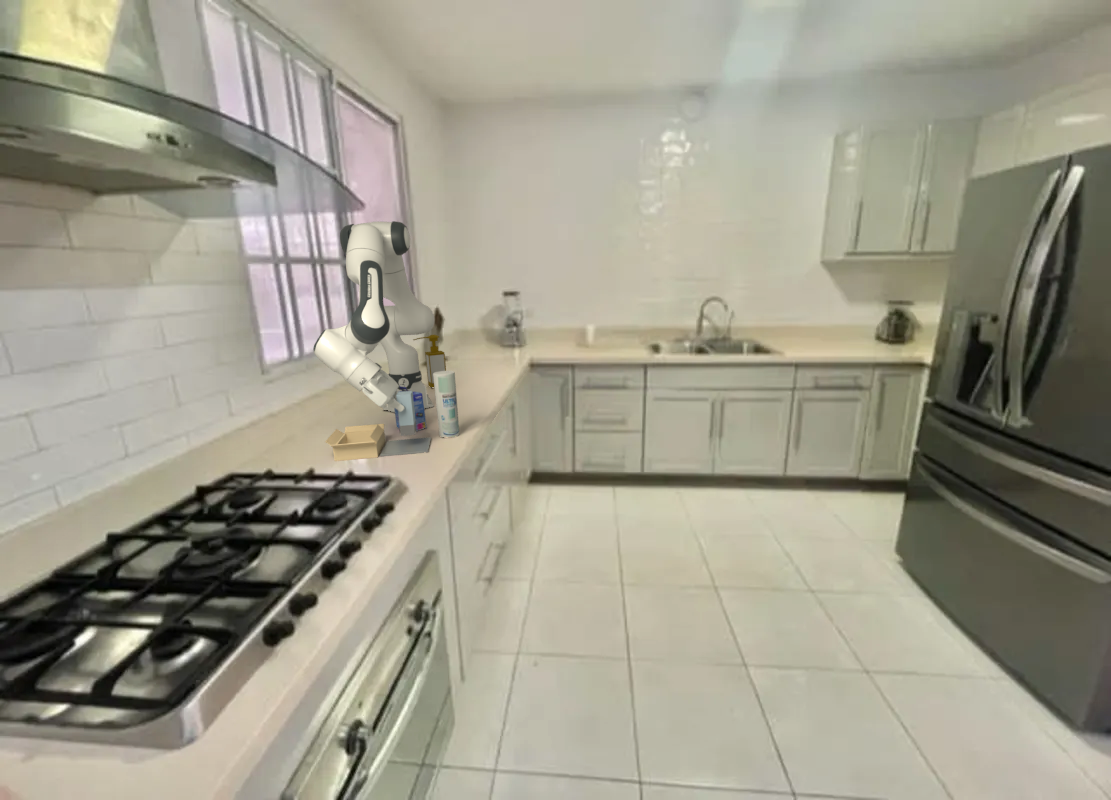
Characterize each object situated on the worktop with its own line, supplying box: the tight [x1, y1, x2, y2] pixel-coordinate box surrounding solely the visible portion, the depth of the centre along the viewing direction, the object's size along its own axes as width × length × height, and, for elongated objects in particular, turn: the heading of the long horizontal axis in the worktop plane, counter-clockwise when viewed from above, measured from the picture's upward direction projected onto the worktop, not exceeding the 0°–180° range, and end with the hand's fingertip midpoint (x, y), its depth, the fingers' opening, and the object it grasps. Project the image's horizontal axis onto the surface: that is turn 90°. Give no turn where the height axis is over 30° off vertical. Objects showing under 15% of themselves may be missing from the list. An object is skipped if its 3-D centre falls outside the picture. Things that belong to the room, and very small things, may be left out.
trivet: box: [379, 436, 432, 457], centre depth 159 cm, size 13×13×1 cm
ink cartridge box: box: [394, 386, 427, 432], centre depth 178 cm, size 10×6×14 cm, turn 51°
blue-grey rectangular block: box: [396, 391, 417, 437], centre depth 157 cm, size 5×4×12 cm
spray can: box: [433, 370, 460, 438], centre depth 167 cm, size 6×6×20 cm
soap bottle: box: [412, 334, 447, 388], centre depth 243 cm, size 7×13×24 cm, turn 115°
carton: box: [324, 423, 386, 462], centre depth 157 cm, size 19×14×6 cm
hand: (404, 406), depth 156 cm, fingers closed on blue-grey rectangular block, 5 cm apart
